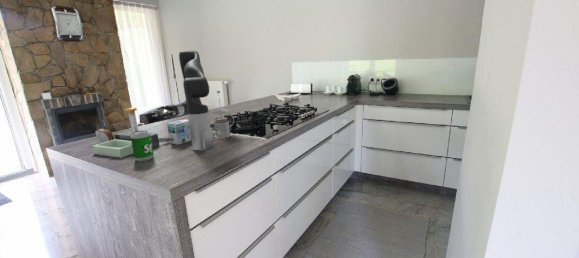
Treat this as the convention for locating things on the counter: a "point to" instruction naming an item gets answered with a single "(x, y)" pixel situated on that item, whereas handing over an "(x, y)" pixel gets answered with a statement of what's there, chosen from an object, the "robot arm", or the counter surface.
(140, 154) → the soda can
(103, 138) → the bread slice
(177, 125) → the light bulb box
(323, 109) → the counter surface
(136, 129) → the gold capped white cylinder
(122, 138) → the hitch bar
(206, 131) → the robot arm
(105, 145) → the tray
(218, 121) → the french press
